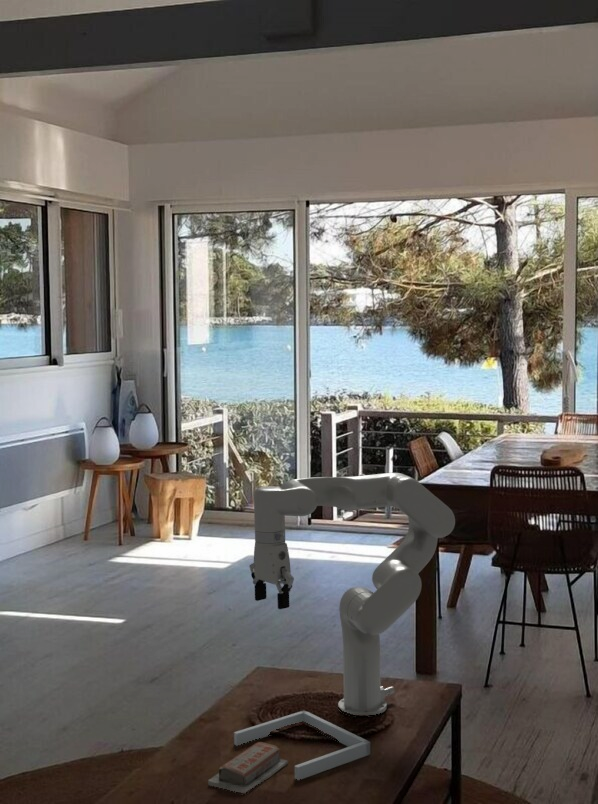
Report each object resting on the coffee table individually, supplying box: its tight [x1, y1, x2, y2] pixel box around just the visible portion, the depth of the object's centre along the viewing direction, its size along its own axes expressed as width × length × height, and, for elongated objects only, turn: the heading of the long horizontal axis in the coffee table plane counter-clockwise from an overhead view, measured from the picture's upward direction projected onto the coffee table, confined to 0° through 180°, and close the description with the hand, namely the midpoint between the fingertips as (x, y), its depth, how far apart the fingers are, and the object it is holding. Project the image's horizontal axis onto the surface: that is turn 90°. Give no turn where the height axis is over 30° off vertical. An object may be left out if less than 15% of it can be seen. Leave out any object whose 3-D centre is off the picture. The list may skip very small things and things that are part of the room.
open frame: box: [233, 710, 371, 781], centre depth 266 cm, size 21×25×3 cm
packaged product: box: [207, 741, 289, 793], centre depth 253 cm, size 18×5×10 cm
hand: (272, 603), depth 280 cm, fingers open, 9 cm apart
